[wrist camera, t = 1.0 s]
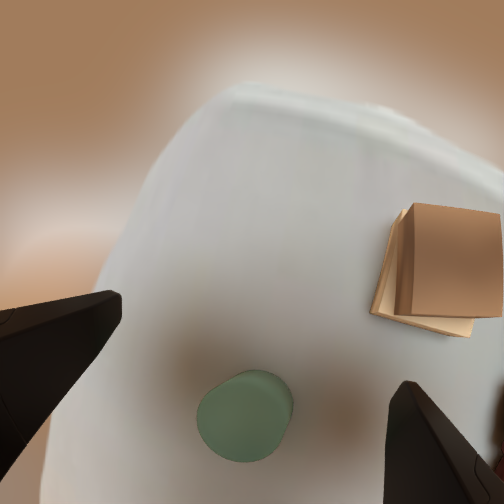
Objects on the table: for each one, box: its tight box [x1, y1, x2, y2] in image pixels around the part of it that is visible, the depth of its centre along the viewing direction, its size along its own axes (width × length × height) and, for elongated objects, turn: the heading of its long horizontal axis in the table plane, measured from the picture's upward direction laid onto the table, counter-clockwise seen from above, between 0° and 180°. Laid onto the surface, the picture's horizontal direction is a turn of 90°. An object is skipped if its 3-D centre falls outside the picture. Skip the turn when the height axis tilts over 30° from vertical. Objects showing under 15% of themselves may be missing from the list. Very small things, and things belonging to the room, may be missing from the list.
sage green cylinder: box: [197, 370, 293, 462], centre depth 17 cm, size 5×5×4 cm
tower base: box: [370, 209, 475, 338], centre depth 17 cm, size 6×6×4 cm
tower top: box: [394, 203, 503, 319], centre depth 13 cm, size 5×5×4 cm
